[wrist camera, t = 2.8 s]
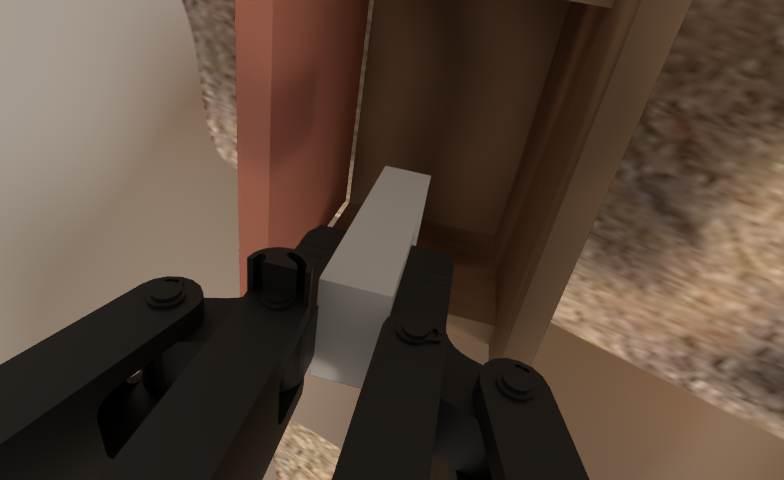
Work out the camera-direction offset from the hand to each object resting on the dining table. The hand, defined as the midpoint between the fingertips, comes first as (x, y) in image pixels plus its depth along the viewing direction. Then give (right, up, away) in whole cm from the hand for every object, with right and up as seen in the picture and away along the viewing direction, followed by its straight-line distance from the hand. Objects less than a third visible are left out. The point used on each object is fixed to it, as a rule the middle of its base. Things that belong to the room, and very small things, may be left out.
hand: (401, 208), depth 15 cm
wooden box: (+5, +10, +19) cm, 22 cm away
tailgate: (-3, +7, +12) cm, 14 cm away
